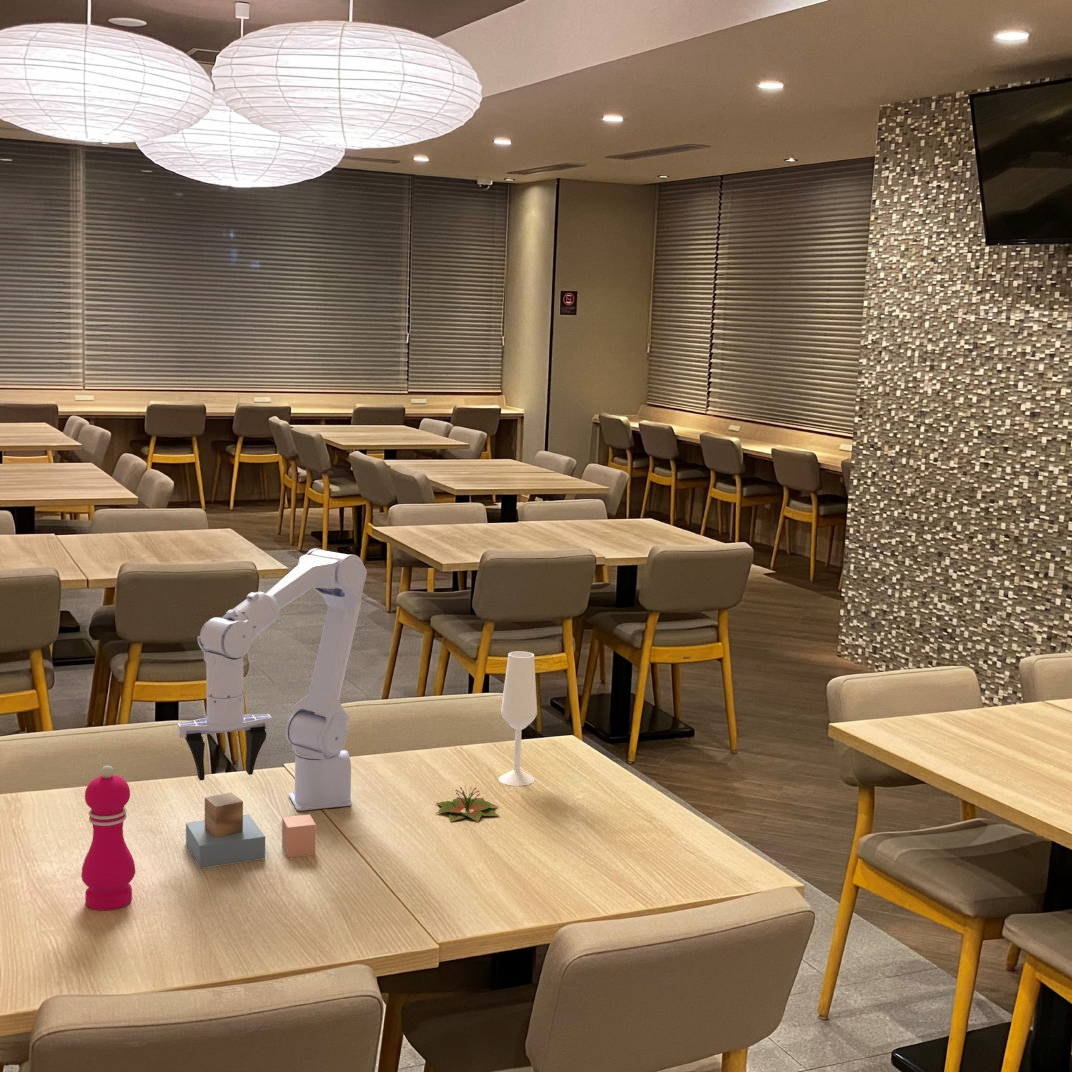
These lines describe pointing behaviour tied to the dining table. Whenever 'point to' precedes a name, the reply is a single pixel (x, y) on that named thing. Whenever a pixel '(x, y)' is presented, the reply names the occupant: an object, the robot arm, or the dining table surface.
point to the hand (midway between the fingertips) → (225, 775)
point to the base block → (225, 844)
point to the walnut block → (223, 814)
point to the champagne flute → (519, 707)
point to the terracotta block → (298, 835)
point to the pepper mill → (108, 844)
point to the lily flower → (467, 807)
